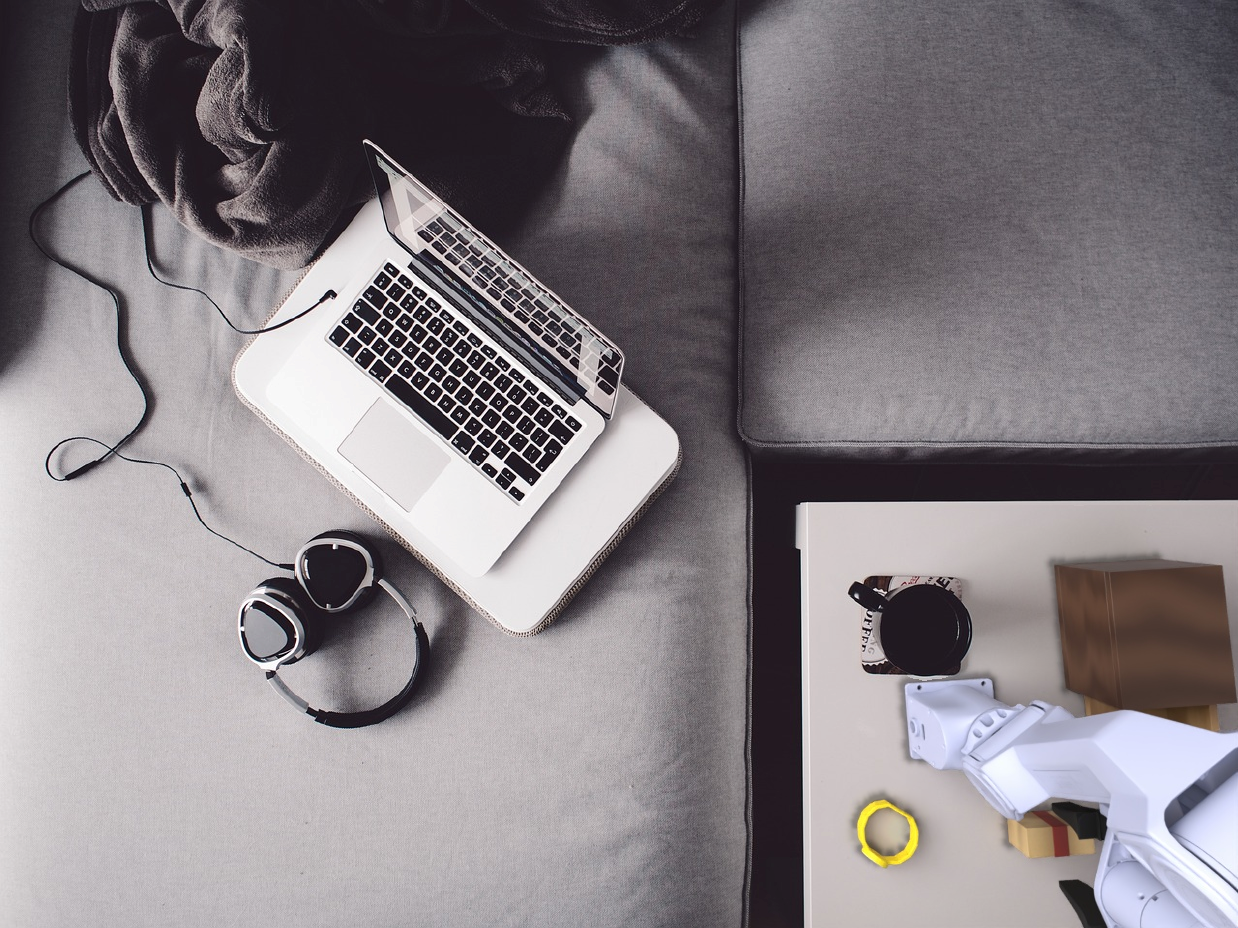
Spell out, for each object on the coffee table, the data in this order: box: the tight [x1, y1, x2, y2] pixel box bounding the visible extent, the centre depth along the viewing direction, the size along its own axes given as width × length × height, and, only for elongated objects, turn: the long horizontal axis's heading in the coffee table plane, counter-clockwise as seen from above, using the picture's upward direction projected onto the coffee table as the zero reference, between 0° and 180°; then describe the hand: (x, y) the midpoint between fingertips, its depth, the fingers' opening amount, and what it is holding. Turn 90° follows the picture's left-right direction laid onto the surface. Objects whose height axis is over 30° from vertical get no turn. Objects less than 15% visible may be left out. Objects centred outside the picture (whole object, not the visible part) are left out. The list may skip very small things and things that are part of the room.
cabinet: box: [1053, 558, 1238, 710], centre depth 72 cm, size 13×11×8 cm
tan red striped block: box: [1006, 810, 1096, 859], centre depth 73 cm, size 7×3×4 cm, turn 93°
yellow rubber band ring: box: [856, 799, 920, 869], centre depth 73 cm, size 6×3×6 cm
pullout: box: [1083, 695, 1221, 732], centre depth 71 cm, size 17×10×7 cm, turn 3°
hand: (1064, 844), depth 70 cm, fingers open, 7 cm apart
